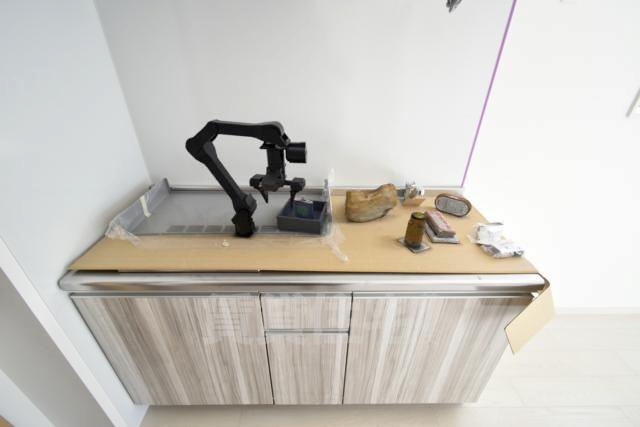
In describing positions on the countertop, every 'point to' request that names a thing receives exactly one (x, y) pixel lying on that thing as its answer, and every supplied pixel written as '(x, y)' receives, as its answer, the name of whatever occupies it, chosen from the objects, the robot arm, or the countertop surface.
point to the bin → (300, 224)
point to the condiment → (415, 232)
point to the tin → (453, 204)
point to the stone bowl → (370, 203)
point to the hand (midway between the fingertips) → (279, 204)
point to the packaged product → (439, 228)
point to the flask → (302, 208)
